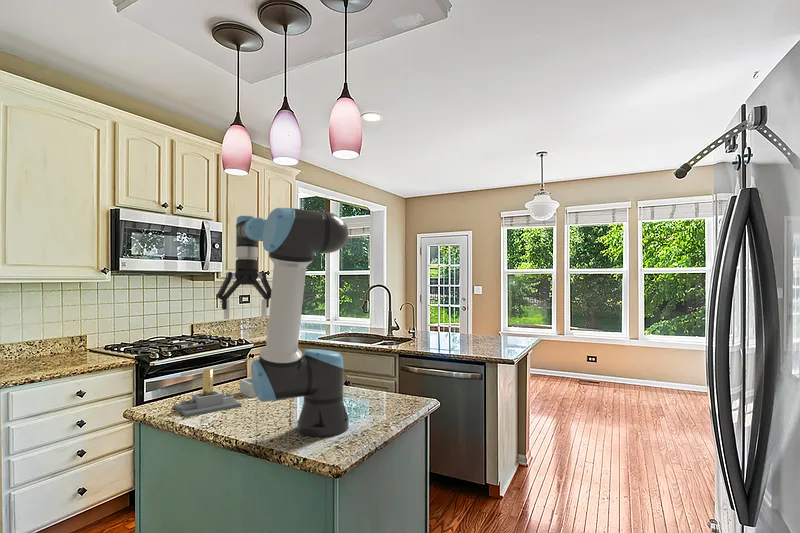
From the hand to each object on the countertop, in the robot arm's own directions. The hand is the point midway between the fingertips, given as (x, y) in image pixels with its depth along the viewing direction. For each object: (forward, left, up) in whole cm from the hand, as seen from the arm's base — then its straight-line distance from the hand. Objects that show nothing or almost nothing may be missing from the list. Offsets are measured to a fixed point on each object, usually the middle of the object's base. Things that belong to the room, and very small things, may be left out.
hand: (245, 318), depth 154 cm
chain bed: (+5, +11, -31) cm, 33 cm away
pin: (+5, +11, -30) cm, 32 cm away
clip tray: (+12, -14, -31) cm, 36 cm away
